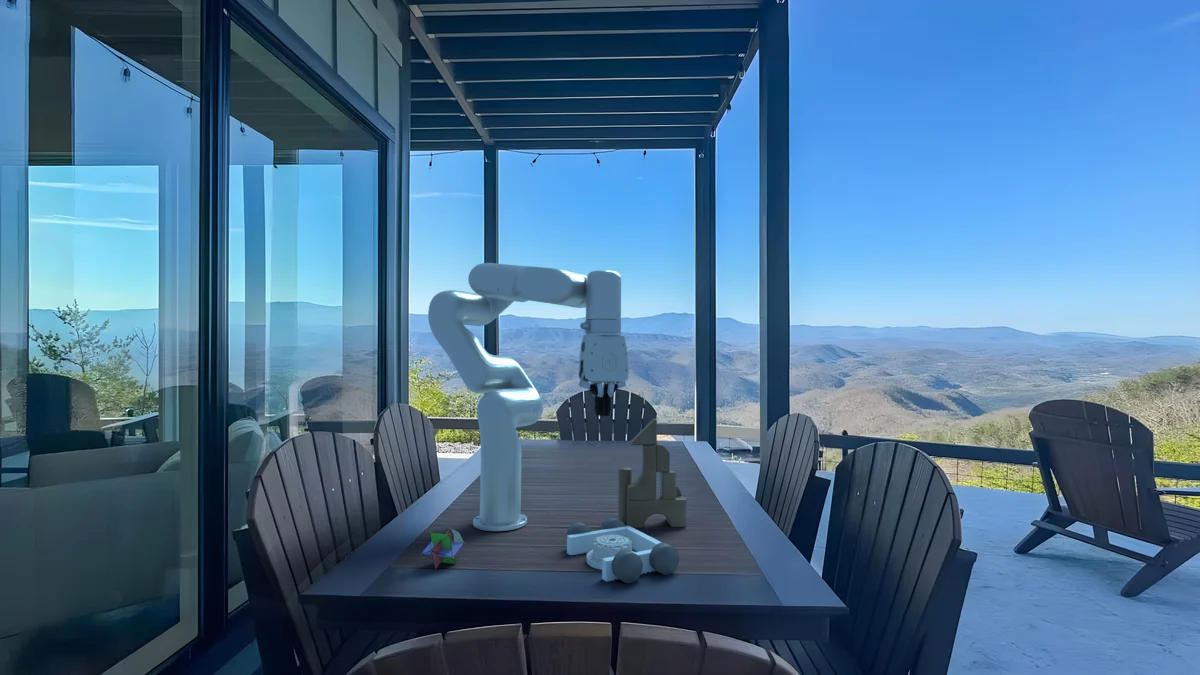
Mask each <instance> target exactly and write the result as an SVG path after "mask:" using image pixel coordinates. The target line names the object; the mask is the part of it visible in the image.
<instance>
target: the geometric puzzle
mask: <svg viewBox="0 0 1200 675" xmlns="http://www.w3.org/2000/svg"><path fill="white" fill-rule="evenodd" d="M437 531H439V529H438V530H437V529H436V532H435V531H429V532H428V533H429V535H430V536H429V538H428V537H427V538H426V540H428V539H429V544H428V545H426V543H427V542H425V544H424V545H426V547H424V549H423V550H422V551H421V553H420V555H422V556H425V557H426V558H425V559H426V561H428V559H427V558H429V559H431V560H432V561H433V562H432V563H433V565H431V566H432V567H434V570H439V569H441V566H443V565H445V564H449V565H457V561H458V559H459V558H457V560H456V558H455V557H456V555H457V553H458V551H459V550H461V549H462V548H461V547H463V546H464V544H465V541H464V540H463V537H462V535H461V533H460V532H459V531H457V530H455V529H453V528H452V527H449V528H445V531H444V532H446V533H444V532H440V533H439V532H437ZM429 555H430V556H431V557H430V556H429ZM441 563H443V564H441ZM440 564H441V565H440ZM439 565H440V566H439ZM446 567H448V566H447V565H446V566H445V568H446Z"/></svg>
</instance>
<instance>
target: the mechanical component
mask: <svg viewBox="0 0 1200 675" xmlns="http://www.w3.org/2000/svg"><path fill="white" fill-rule="evenodd" d="M621 550H630V551H631V552H633V553H634V552H635V550H634V551H633V549H632V541H630V540H629V538H626V537H623V536H622V535H621V536H618V535H602V536H601V537H596V538H595V539H594V540H593V550H591V551H589V552H587V553H586V563H587V565H588V566H590V567H591V568H594V569H596V570H601V571H602V559H603V558H608V557H613V556H615V555H616V554H617V553H618V552H619V551H621Z"/></svg>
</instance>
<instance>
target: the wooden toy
mask: <svg viewBox="0 0 1200 675" xmlns="http://www.w3.org/2000/svg"><path fill="white" fill-rule="evenodd" d="M629 444H630V445H631V446H640V475H639V476H638V478H637V480H635V481H632V474H633V473H632V472H633V471H632V470H633V469H632V468H631V467H628V466H622V467H621V466H620V467H619V468H618V478H617V480H618V485H617V486H618V488H617V492H618V493H617V494H618V497H617V500H618V502H617V503H618V504H617V511H618V512H617V514H618V515H617V516H618V517H617V519H618V520H620V521H622V522H623V523H624V524H625V525H626V526H630V527H632V528H634V529H643V528H644V527H645V523H646V521H647V520H648V519H649V517H651V516H653V515H656V514H657V515H661V516H662V515H663V516H664V517H665V520H666V522H667V523H668V525H669V526H670V527H671V528H686V527H687V499H686V498H685V497H684V496H683V494H682V492H681V490H680V488H679V487H678V486H677V473H676V471H674V469H670V467H671V466H670V465H671V464H670V462H671V459H670V458H671V455H670V454H671V453H670V451H669V450H668V449H667V448H666V446H665V445H663V443H661V442H658V420H657V419H656V418H652V420H650V421H649V422H648V424H646V425H645V426H644V428H642V429H641V430H640V431H639V432H638V433H637V434H636V435H635V436H634V437H633V438H632V439H631V440H630V441H629ZM657 473H659V476H660V477H659V487H660V488H659V496H657Z"/></svg>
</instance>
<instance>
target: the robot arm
mask: <svg viewBox="0 0 1200 675" xmlns="http://www.w3.org/2000/svg"><path fill="white" fill-rule="evenodd" d="M467 279H468V280H467V281H468V285H469V287H470V289H471V290H472V291H473V292H469V291H462V290H443V291H440V292H437V293H436V294H435V295H434V296H433V297H432V299H431V300H430V302H429V306H428V311H427V312H428V313H427V316H428V323H429V328H430V330H431V333H432V335H433V337H434V338H435V340H436V341H437V343H438V344H439V346H440V347H441V348H442V349H443V350H444V352H445V353H446V354H447V357H448V358H449V360H450V362H451V364H452V366H453V367H454V368H455V370H456V372H457V373H458V374H459V377H460V379H461V380H462V381H463V383H464V386H466V388H467V389H468V390H469V391H470V392H472V393H475V394H484V395H482V396H481V398H480V399H479V401H478V403H477V407H476V416H477V422H478V426H479V435H480V484H479V492H480V493H479V515H477V516H475V517H474V518H473V519H472V526H473V527H474V528H475V529H477V530H480V531H481V530H482V531H487V532H507V531H512V530H518V529H521V528H523V527H525V525H527V523H528V516H527V515H525V514H523V513H521V512H522V511H521V509H522V508H521V507H522V506H521V504H522V502H521V501H522V444H521V439H520V437H519V434H518V431H517V428H522V427H527V426H531V425H533V424H535V423H537V422H538V421H539V420H540V418H541V417H542V414H543V409H544V406H543V405H544V404H543V400H542V397H541V396H540V394H539V392H538V390H537V388H536V387H535V386H534V384H533V383H532V381H531V380H530V378H529V377H528V375H527V374H526V372H525V370H524V369H523V368H522V366H521V364H519V362H517V361H516V360H515V359H514V358H513V357H511V356H507V355H501V354H497V355H496V354H495V355H494V354H491V353H489V352H488V351H487V349H486V348H485V347H484V346H483V344H482V343H481V341H480V339H479V338H478V337H477V336H476V335H475V334H474V333H473V332H472V331H471V330H469V329H468V328H467V327H466V326H475V327H482V326H486V325H488V324H490V323H492V321H494V320H495V319H496V318H498V317H499V316H500V314H501V313H503V312H504V311H505V310H506V309H507V308H508V307H510V306H511V305H512V304H513V303H514V302H518V303H525V302H528V301H531V302H537V303H543V304H544V303H545V304H549V305H556V306H557V305H558V306H564V307H570V308H574V309H575V308H577V309H583V308H584V309H585V321H584V322H581V323H580V325H579V326H580V329H581V330H584V333H585V334H583V335H582V340H581V343H580V349H579V356H578V357H579V358H578V378H579V384H578V386H579V388H581V389H582V388H583V389H587V390H589V391H590V393H591V394H592V396H593V397H594V412H595V415H596V416H599V417H610V412H611V411H612V410H611V408H612V407H611V405H612V402H611V401H612V400H611V398H612V397H613V396H614V393H615V392H616V391H617V390H618V389H622V388H624V387H626V386H627V384H626V381H628V379H629V376H630V375H629V354H628V346H627V342H626V337H625V335H622V277H621V274H620V273H619V272H617V271H615V270H607V269H605V270H604V269H600V270H593V271H590V272H589V273H588V274H582V273H577V272H574V271H571V270H570V271H569V270H565V269H561V268H556V267H555V268H554V267H543V266H531V265H530V266H529V265H517V264H508V263H507V264H506V263H505V264H504V263H495V262H483V263H479V264H476V265H475V266H474V267H473V268H472V269H471V270H470V272H469V274H468V278H467Z"/></svg>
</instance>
